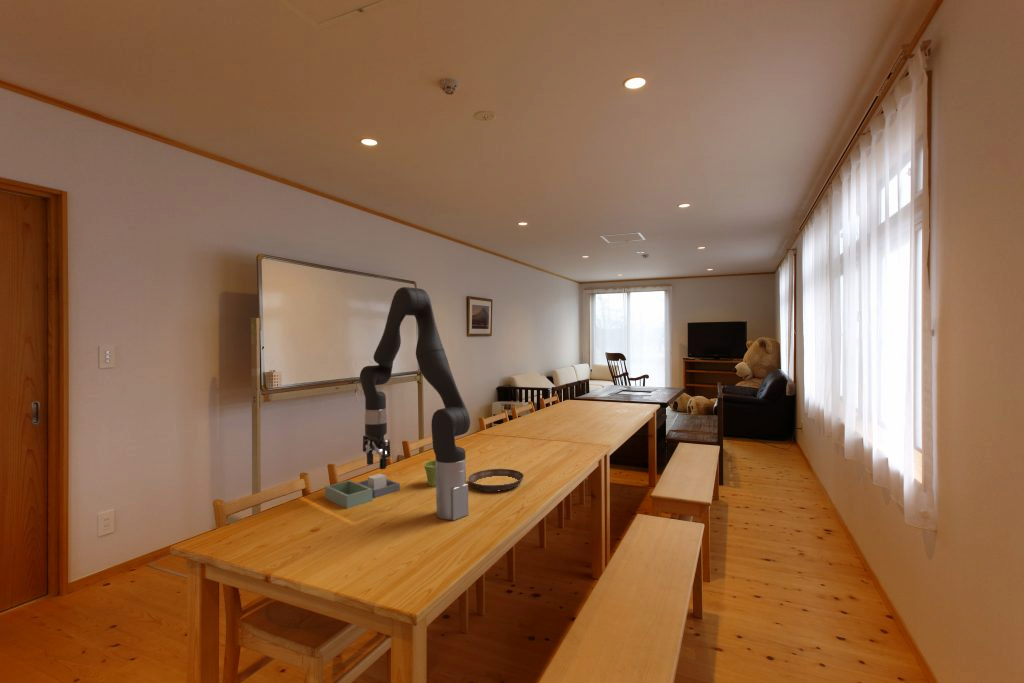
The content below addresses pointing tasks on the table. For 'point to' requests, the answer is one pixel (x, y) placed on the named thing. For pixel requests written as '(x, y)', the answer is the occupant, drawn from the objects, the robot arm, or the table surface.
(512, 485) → the plant saucer
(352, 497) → the sage green bin
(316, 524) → the table surface
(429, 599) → the table surface
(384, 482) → the pale pink block
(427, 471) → the plant pot
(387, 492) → the charcoal tub
